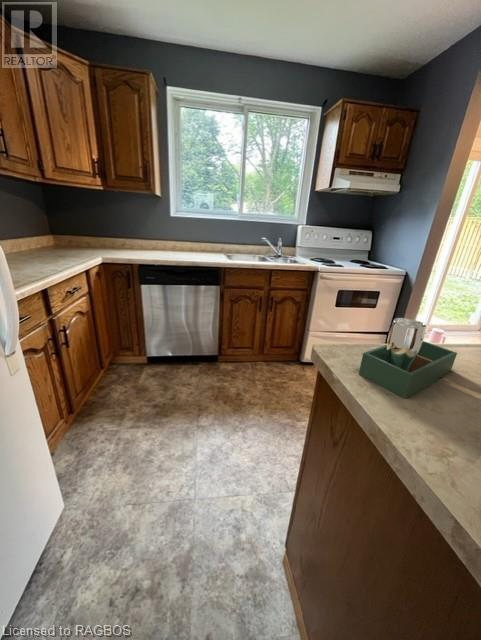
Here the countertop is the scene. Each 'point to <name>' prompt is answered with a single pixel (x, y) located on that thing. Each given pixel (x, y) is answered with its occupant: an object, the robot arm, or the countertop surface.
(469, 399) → the countertop surface
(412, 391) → the divided box
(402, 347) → the beer glass
